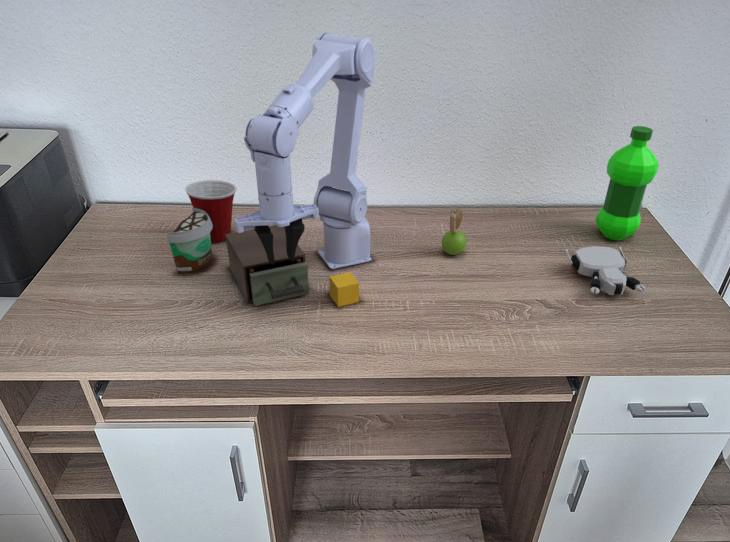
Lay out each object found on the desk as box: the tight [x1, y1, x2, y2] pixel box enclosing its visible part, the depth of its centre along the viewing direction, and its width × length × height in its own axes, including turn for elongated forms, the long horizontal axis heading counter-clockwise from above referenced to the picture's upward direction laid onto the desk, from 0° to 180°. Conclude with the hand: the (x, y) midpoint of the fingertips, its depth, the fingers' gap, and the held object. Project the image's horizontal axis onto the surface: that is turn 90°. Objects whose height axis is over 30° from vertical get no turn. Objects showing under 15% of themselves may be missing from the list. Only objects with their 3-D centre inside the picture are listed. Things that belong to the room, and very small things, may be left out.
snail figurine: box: [440, 208, 468, 256], centre depth 133 cm, size 5×6×12 cm
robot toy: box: [565, 245, 646, 296], centre depth 127 cm, size 12×4×15 cm
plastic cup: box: [184, 179, 237, 244], centre depth 137 cm, size 11×11×12 cm
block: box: [328, 271, 360, 308], centre depth 119 cm, size 4×4×4 cm
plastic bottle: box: [595, 125, 660, 241], centre depth 138 cm, size 10×10×25 cm
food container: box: [166, 207, 213, 275], centre depth 127 cm, size 12×6×10 cm, turn 168°
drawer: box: [247, 258, 310, 307], centre depth 120 cm, size 18×11×6 cm, turn 25°
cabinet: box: [225, 225, 307, 304], centre depth 124 cm, size 14×12×8 cm
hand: (281, 259), depth 112 cm, fingers open, 3 cm apart
